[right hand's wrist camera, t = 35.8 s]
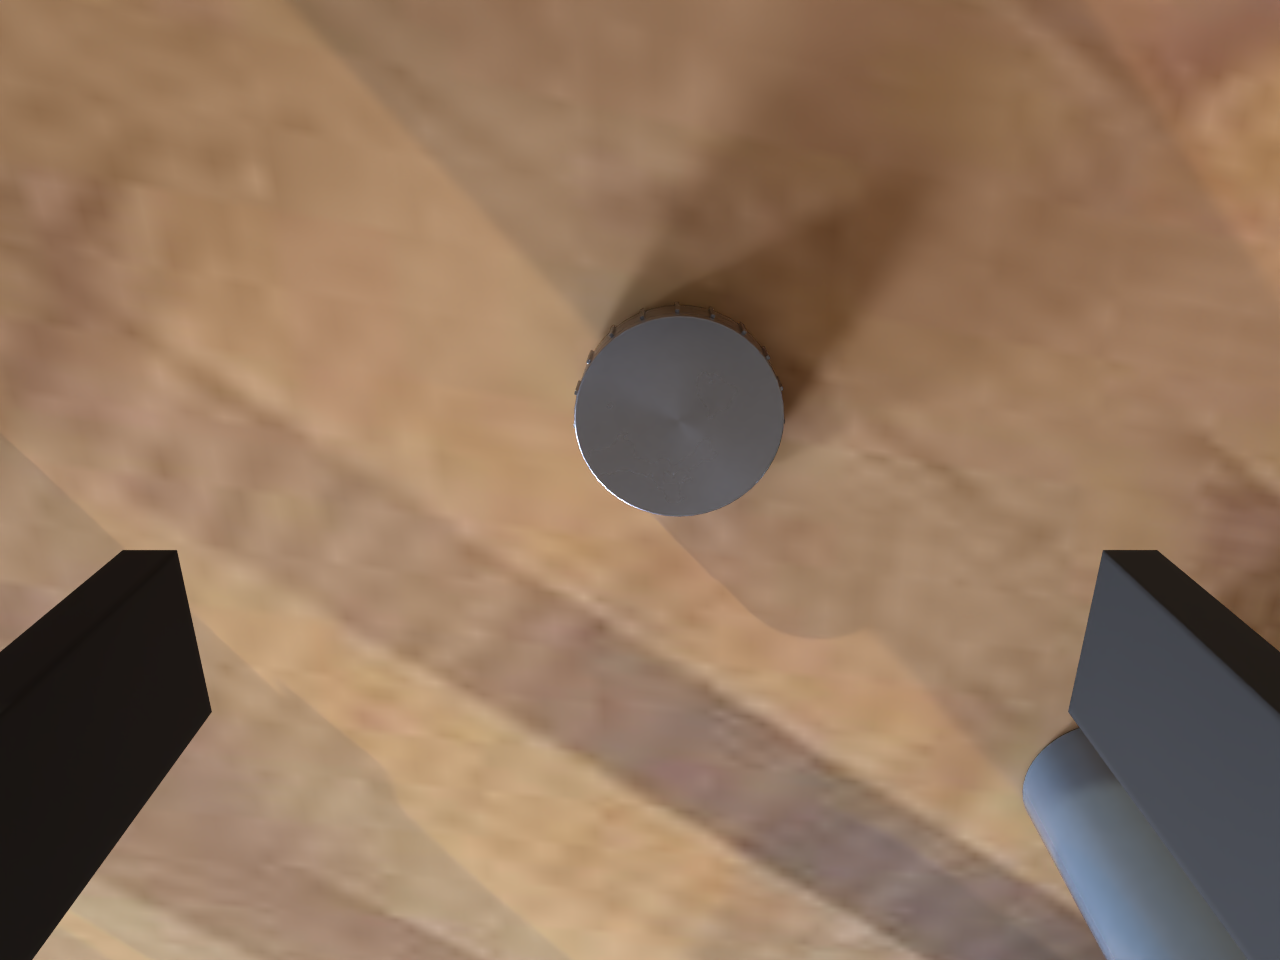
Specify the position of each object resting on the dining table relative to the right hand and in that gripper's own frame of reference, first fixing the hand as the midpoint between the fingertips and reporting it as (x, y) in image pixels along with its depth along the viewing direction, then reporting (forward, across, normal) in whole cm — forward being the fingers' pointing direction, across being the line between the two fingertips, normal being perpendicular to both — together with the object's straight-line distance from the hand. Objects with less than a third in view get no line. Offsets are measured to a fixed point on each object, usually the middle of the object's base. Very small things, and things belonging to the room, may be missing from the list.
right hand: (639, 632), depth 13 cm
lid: (+12, +1, 0) cm, 12 cm away
